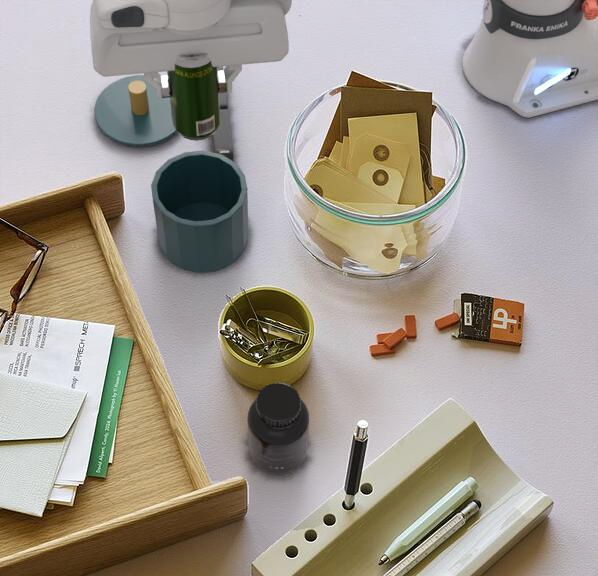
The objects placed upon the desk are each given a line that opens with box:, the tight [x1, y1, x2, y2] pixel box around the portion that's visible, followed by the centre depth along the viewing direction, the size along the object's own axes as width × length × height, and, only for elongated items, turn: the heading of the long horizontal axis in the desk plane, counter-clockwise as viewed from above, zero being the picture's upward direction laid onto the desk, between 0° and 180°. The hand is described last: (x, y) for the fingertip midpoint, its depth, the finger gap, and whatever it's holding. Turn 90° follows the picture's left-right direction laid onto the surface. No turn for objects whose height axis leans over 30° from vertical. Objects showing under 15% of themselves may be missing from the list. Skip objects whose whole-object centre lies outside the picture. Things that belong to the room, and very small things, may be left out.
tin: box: [150, 150, 249, 273], centre depth 130 cm, size 11×11×10 cm
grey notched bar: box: [211, 66, 235, 162], centre depth 142 cm, size 18×3×3 cm, turn 7°
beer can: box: [166, 53, 220, 142], centre depth 112 cm, size 5×5×12 cm
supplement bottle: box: [246, 381, 310, 475], centre depth 116 cm, size 7×7×12 cm
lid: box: [94, 74, 178, 147], centre depth 141 cm, size 12×12×5 cm
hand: (193, 91), depth 113 cm, fingers closed on beer can, 5 cm apart
